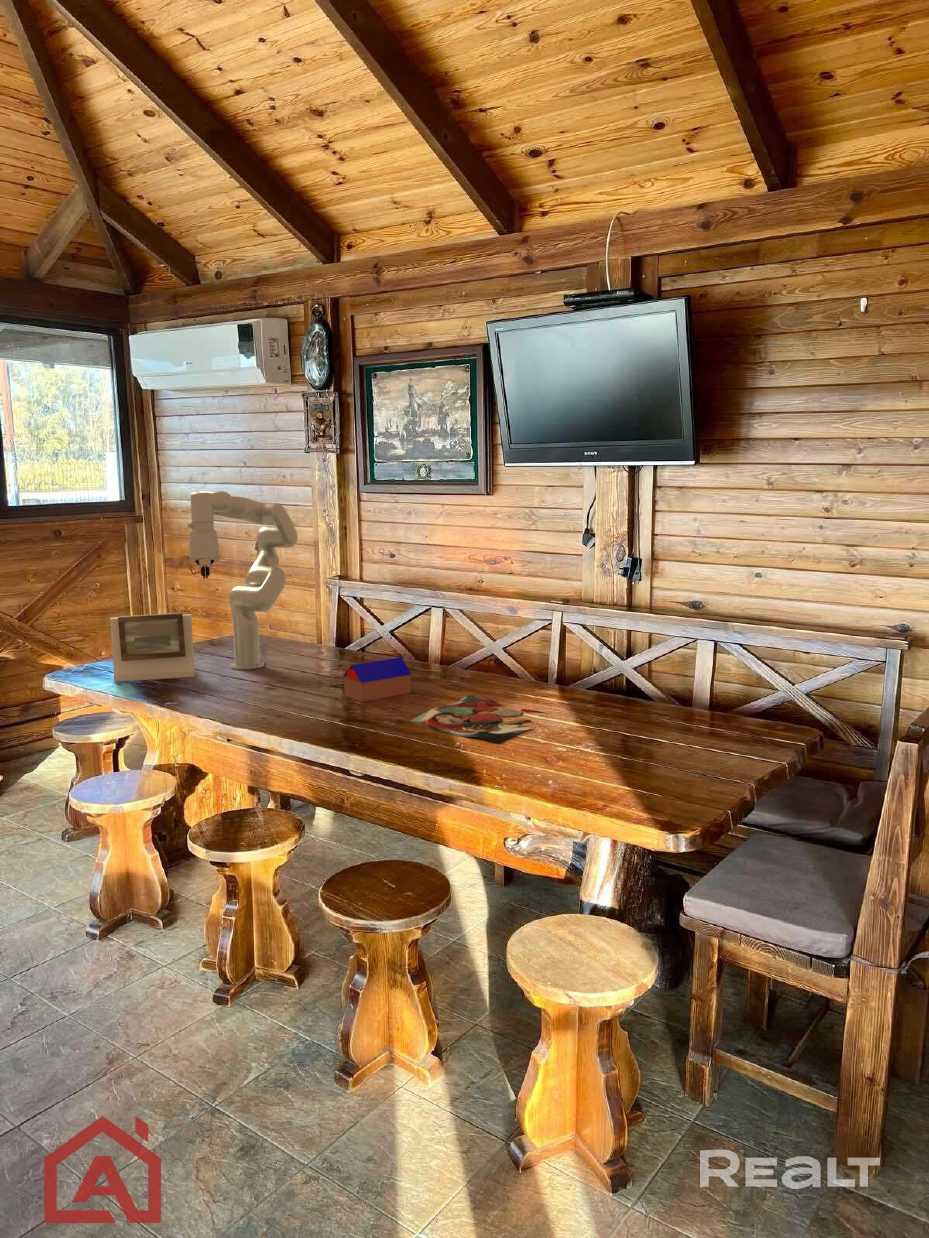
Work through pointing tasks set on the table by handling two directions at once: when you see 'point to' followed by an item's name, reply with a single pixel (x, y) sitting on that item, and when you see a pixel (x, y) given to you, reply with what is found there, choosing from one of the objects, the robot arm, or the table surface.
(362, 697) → the house
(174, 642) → the picture frame
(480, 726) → the platter
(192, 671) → the display board
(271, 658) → the table surface
